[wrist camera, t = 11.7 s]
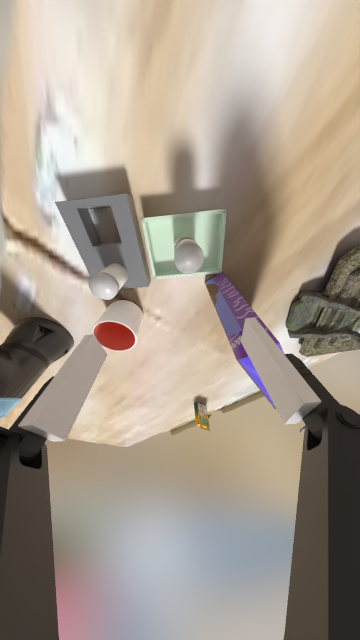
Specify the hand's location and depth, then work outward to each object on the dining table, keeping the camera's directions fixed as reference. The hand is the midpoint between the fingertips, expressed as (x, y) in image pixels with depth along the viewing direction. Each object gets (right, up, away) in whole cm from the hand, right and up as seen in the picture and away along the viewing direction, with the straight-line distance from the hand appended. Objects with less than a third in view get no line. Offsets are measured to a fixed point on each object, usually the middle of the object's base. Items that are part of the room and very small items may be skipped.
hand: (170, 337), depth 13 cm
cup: (-15, +4, +28) cm, 32 cm away
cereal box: (+14, +7, +27) cm, 31 cm away
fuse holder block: (-13, +17, +18) cm, 28 cm away
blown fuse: (+2, +17, +17) cm, 24 cm away
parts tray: (+2, +18, +18) cm, 25 cm away
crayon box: (+12, -46, +66) cm, 81 cm away
